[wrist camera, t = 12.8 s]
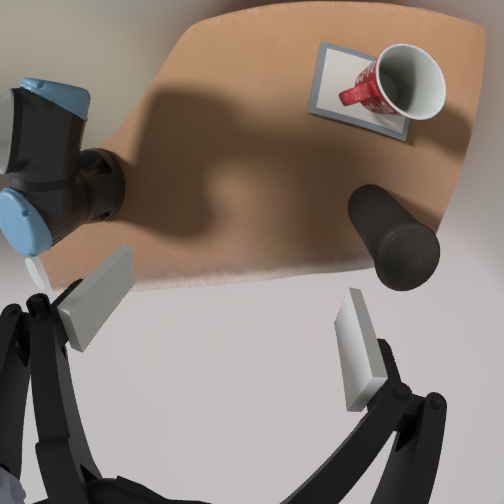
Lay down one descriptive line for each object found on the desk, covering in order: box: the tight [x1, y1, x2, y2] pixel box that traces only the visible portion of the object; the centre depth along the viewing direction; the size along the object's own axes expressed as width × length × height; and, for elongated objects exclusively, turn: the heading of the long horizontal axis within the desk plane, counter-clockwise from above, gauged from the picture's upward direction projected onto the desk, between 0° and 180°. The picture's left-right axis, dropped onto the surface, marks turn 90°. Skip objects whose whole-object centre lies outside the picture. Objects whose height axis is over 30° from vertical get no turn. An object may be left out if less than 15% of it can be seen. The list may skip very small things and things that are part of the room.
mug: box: [339, 43, 446, 120], centre depth 28 cm, size 13×9×14 cm
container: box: [348, 185, 440, 291], centre depth 36 cm, size 9×9×20 cm
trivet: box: [307, 42, 410, 141], centre depth 35 cm, size 16×12×3 cm
